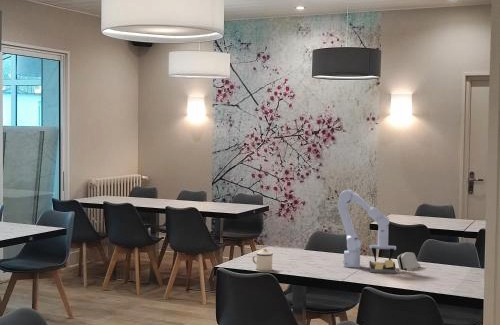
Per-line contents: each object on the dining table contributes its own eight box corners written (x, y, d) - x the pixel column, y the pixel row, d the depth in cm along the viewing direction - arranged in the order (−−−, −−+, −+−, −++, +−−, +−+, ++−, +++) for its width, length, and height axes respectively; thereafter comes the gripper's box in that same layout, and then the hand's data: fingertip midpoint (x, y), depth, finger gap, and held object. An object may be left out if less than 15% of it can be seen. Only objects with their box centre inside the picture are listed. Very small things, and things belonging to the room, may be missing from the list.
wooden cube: (374, 269, 371) (374, 269, 367) (375, 261, 372) (376, 262, 368) (381, 270, 371) (382, 271, 367) (383, 263, 371) (383, 263, 367)
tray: (370, 272, 367) (370, 269, 367) (369, 269, 377) (369, 265, 377) (396, 273, 365) (396, 270, 365) (395, 270, 375) (395, 267, 375)
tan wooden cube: (385, 268, 375) (386, 267, 371) (384, 261, 376) (384, 260, 372) (393, 267, 374) (393, 266, 371) (391, 260, 376) (392, 259, 372)
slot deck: (369, 269, 378) (369, 263, 377) (369, 266, 386) (369, 260, 386) (395, 270, 375) (395, 264, 375) (394, 267, 384) (394, 261, 384)
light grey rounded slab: (407, 270, 376) (402, 253, 377) (400, 272, 378) (395, 255, 380) (421, 266, 388) (416, 250, 390) (413, 268, 391) (409, 251, 393)
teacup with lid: (275, 269, 372) (275, 248, 372) (267, 271, 364) (268, 250, 364) (256, 266, 378) (256, 246, 378) (248, 269, 370) (248, 248, 370)
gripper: (395, 237, 381) (395, 261, 382) (369, 236, 383) (369, 260, 384) (396, 239, 374) (395, 263, 375) (370, 238, 376) (369, 262, 377)
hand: (382, 261), depth 379 cm, fingers open, 7 cm apart
